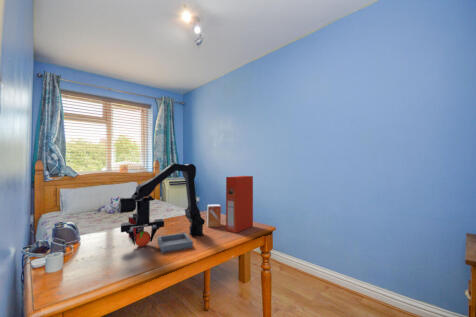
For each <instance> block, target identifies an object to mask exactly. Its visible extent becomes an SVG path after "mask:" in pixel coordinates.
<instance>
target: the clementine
mask: <svg viewBox="0 0 476 317" xmlns="http://www.w3.org/2000/svg"><path fill="white" fill-rule="evenodd" d="M150 238H151V233H149V232H148V231H145V230H144V231H141V232H139V233H138V234H137V235H136V237H134V239H135V244H136V246H138V247H145V246H148V244H149V243H151V242H150Z"/></svg>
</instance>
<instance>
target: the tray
mask: <svg viewBox="0 0 476 317" xmlns="http://www.w3.org/2000/svg"><path fill="white" fill-rule="evenodd" d="M156 239H157V245H158V247H159V251H160V252H161V254H166V253H170V252H176V251H180V250H181V251H182V250H187V249H192V248H193V247H194V246H193V245H194V244H193V242H194V241H193V239H191V237H190V236H189V235H188V234H187V233H186V232H180V233H173V234H165V235H159V236H157V238H156Z"/></svg>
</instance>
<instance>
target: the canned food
mask: <svg viewBox="0 0 476 317" xmlns="http://www.w3.org/2000/svg"><path fill="white" fill-rule="evenodd" d="M133 214H134V213H131V214H129V215H128V223H129V222H130V224H137V223H136V220H135V221H133ZM138 226H141V225H138ZM141 231H145V227H140V228H133V232H134V238H135V237H136V235H137V234H138V233H139V232H141ZM127 234H128V236H129V237H130V238H131V236H130V235H129V233H127Z"/></svg>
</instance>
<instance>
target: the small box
mask: <svg viewBox="0 0 476 317" xmlns="http://www.w3.org/2000/svg"><path fill="white" fill-rule="evenodd" d="M206 209H207V210H206V216H207V217H206V220H207V221H206V225H207V228H210V227H212V228H213V227H215V228H217V227H221V221H222V220H221V218H222V217H221V213H222V206H221V205H220V204H219V203H216V204H207V208H206Z"/></svg>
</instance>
